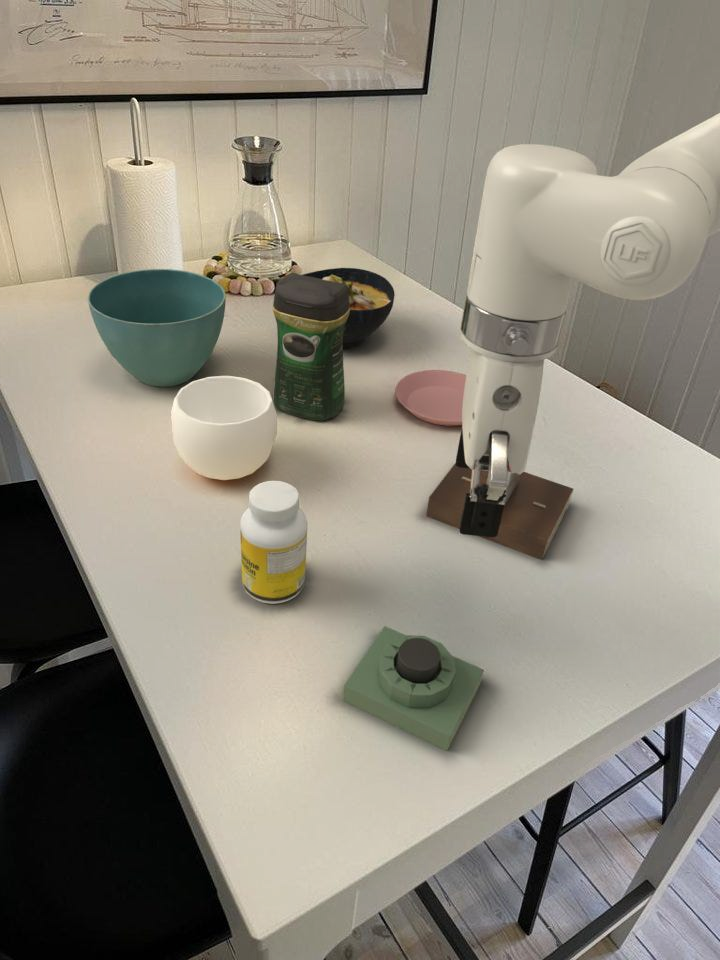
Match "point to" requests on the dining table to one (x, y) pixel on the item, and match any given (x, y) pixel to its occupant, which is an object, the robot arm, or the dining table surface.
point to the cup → (224, 426)
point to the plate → (433, 396)
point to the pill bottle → (273, 543)
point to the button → (418, 660)
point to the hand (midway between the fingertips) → (474, 498)
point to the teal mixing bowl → (159, 322)
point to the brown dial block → (508, 509)
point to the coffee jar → (310, 346)
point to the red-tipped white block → (511, 483)
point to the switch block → (413, 690)
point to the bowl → (361, 301)
